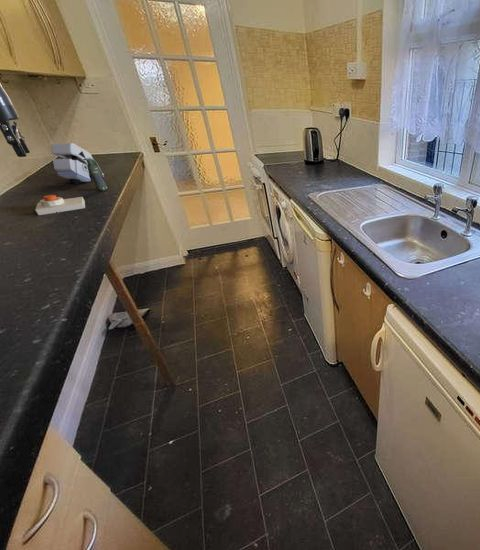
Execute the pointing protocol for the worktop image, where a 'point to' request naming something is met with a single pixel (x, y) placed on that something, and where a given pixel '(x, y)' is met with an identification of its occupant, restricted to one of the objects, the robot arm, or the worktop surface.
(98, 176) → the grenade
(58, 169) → the robotic device
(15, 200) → the worktop surface
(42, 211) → the button base
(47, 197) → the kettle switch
